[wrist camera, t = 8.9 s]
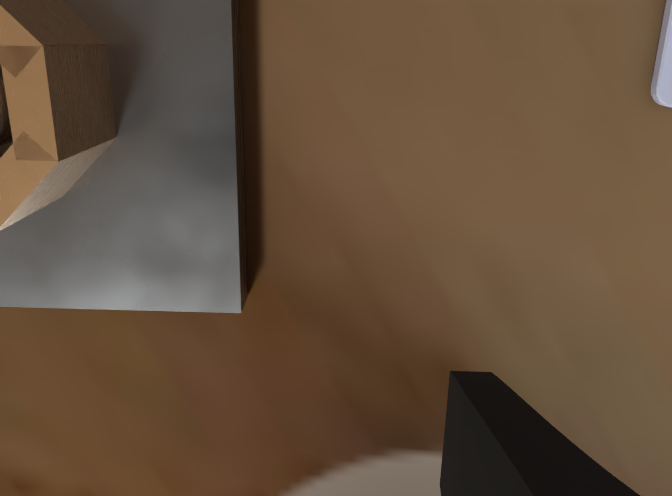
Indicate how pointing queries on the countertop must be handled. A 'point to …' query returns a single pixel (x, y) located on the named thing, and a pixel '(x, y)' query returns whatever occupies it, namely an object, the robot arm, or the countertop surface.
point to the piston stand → (147, 174)
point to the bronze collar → (50, 103)
